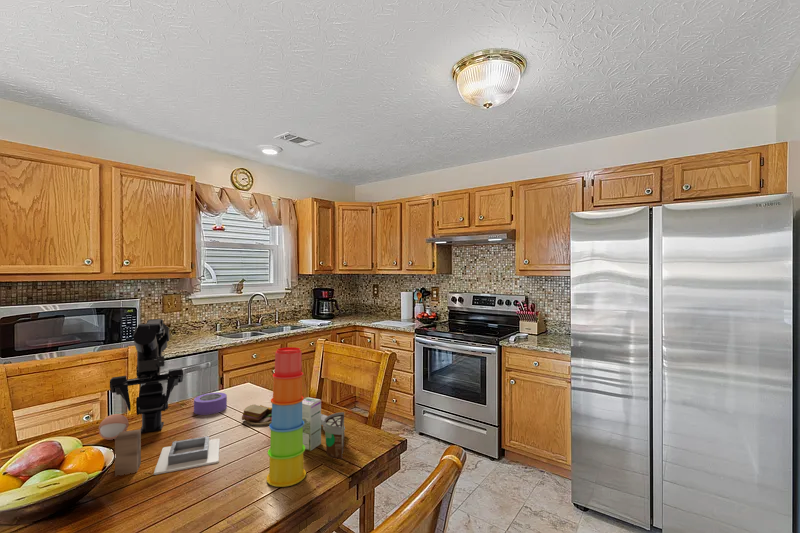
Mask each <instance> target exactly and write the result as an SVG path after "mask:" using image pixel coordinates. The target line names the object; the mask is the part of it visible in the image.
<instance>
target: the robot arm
mask: <svg viewBox="0 0 800 533" xmlns="http://www.w3.org/2000/svg"><path fill="white" fill-rule="evenodd" d="M132 339H133V343H134V346H135V350H136V353H137V354H136V377H135V378H129V379H128V378H127V375H120V376H114V377H113V376H112V377H111V378H110V379H109V389H110V394H116V395H117V396H119V395H120V396H121V397H122V399H123V401H124V402H125V405H126V408H127V410H128V411H129V412H130V411H131V401H130V394H129V386H130V387H131V386H136V385H137V386H138V385H141V386H140V387H139V391H138V396H137V397H136V399H135V409H136V411H135V412H136V416H139V415H141V427H140V429H141V434H142V433H143V432H145V433H149V432H157V431H162V429H163V426H164V424H165V423H164V422H165V421H162V412H165V411H166V410H168V409H169V399H170V397H171V394H172V391H173V389H174V388H175V387H176V386H178V385H179V383H182V382H183V379H184V370H183V368H181V367H177V368H173V369H168V373H164V374H161V368H162V367H163V368H164V367H165V355H162V354H163V352H164V351H165V350H166V348H168V343H169V342H170V327H169V326H168V325H166V324H165V323H164V319H162V318H156V319H153V318H152V319H148V320H147V321H146V323H139V324H138V325H137V327H135V329H134V331H133V334H132ZM164 381H166V382H167V383H166V391H165V390H164V387H163V384H162V383H161V382H164ZM164 391H165V392H164ZM143 434H144V433H143Z"/></svg>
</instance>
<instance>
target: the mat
mask: <svg viewBox="0 0 800 533" xmlns="http://www.w3.org/2000/svg"><path fill="white" fill-rule="evenodd" d="M220 440H221V438H212V439H209V450H208V458H207V459H201V460H196V461H190V462H185V463H179V464H174V465H168V455H169V452H170V449H171V446H172V445H171V446H165V447H162V449H161V452H160V455H159V458H158V460H157V462H156V466H155V468H154V472H153V476H154V475H160V474H165V473H171V472H177V471H183V470H187V469H193V468H197V467H204V466H208V465H214V464H219V463H220V462H219V460H220V442H221V441H220ZM201 449H204V446H201V447H195V448H189V449H183V450H178V451H176V453H175V454H178V453H184V452H190V451H195V450H201Z"/></svg>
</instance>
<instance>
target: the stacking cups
mask: <svg viewBox="0 0 800 533" xmlns="http://www.w3.org/2000/svg"><path fill="white" fill-rule="evenodd" d="M302 355H303V353H302V350H301V348H300V347H295V346H294V347H293V346H290V347H288V346H287V347H280V348H277V349H276V351H275V354H274V373H272V377H273V386H272V388H273V389H272V398H270V403H271V408H272V423H271V424H269V425H268V428H269V430H270V440H269V441H270V442H269V444H270V447H269V449H267V450H268V451H267V455H268V457H269V470H268V471H269V472H268V474H267V476H266V482H267V484H269V485H270V486H272V487H276V488H283V487H284V488H286V487H290V486H294V485H296V484H299V483H300V482H302V481H303V480H304V479H305V477H306V474H307V471H306V470H305V468H304V452H305V451H306V449H305V446H304V445H303V426H304V421H303V420H302V401H303V400H304V398H305V397H304V396H303V377H302V376H304V372H302V366H303V364H302Z"/></svg>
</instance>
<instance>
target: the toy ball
mask: <svg viewBox="0 0 800 533" xmlns="http://www.w3.org/2000/svg"><path fill="white" fill-rule="evenodd" d="M129 426H130V425H129V420H128V418H127V417H126V416H125V415H124V414H120V413H114V414H113V413H112V414H110V415H108V416H106V417H105V418H103V420H102V421H100V423H99V426H98V434H99V436H100V437H101V438H102V439H103V440H104V439H105V440H108V441H113V439H114V440H115V439H116V437H117V436H118V434H119V433H120V432H125V431H128V428H129Z"/></svg>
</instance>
